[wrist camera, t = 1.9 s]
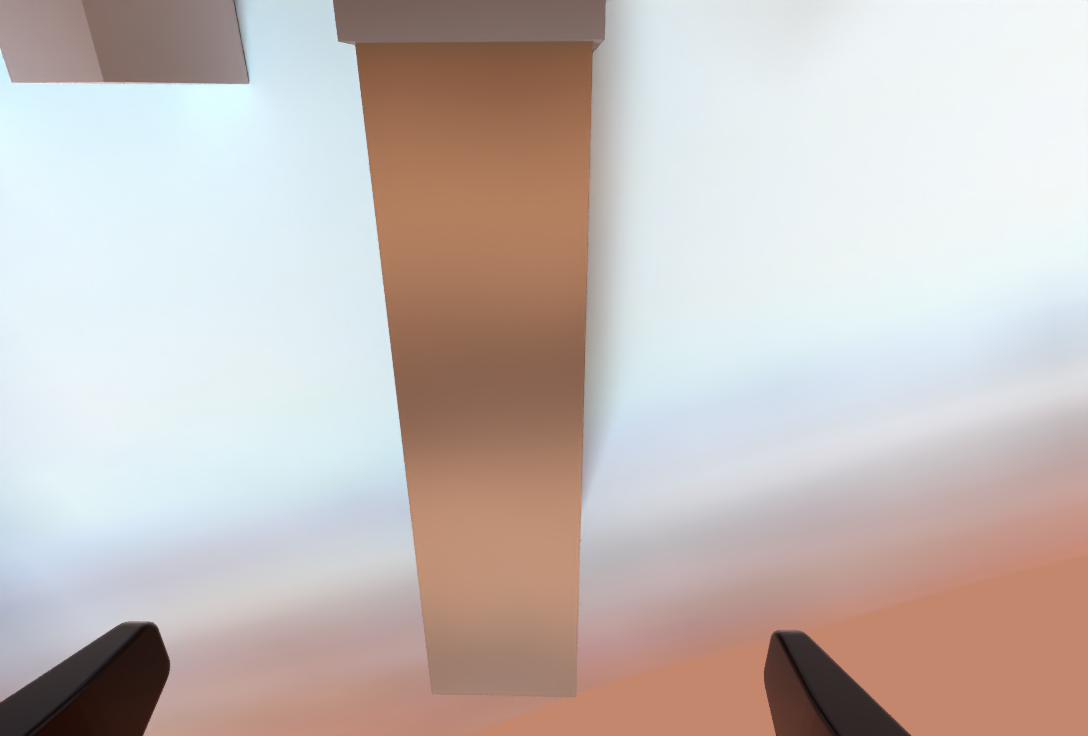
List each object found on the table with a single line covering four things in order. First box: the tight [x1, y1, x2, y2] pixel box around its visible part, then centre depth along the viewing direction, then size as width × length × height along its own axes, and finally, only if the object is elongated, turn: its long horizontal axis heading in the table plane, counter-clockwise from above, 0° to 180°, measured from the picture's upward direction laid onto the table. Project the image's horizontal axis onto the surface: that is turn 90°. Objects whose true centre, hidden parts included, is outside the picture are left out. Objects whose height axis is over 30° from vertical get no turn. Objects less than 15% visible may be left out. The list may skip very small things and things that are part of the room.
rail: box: [333, 0, 606, 697], centre depth 14 cm, size 16×4×6 cm, turn 0°
